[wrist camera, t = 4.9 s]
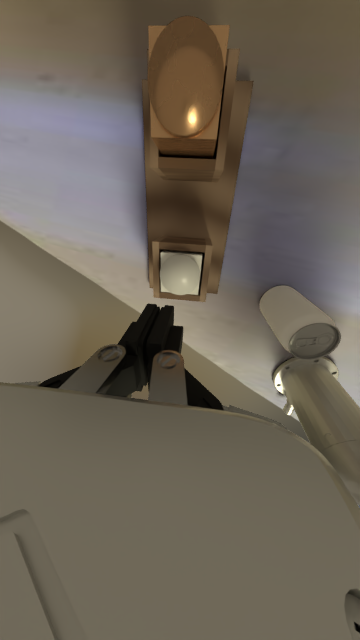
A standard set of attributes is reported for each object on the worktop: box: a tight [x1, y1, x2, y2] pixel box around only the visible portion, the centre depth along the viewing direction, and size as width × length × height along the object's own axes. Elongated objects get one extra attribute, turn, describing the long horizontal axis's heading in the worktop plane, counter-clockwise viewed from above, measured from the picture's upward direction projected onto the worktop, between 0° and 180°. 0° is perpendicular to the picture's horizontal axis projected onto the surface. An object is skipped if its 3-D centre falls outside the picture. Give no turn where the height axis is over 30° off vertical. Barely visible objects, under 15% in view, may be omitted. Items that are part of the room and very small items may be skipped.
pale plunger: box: [160, 250, 202, 295], centre depth 25 cm, size 5×5×8 cm
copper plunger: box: [148, 16, 230, 159], centre depth 15 cm, size 5×5×8 cm
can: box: [259, 285, 341, 360], centre depth 27 cm, size 6×6×12 cm
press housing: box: [142, 49, 254, 302], centre depth 23 cm, size 24×12×8 cm, turn 177°
